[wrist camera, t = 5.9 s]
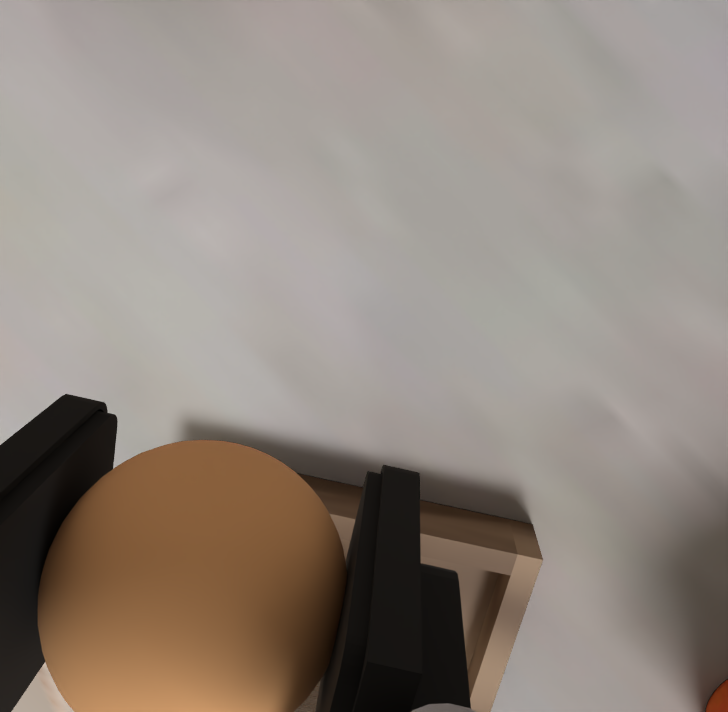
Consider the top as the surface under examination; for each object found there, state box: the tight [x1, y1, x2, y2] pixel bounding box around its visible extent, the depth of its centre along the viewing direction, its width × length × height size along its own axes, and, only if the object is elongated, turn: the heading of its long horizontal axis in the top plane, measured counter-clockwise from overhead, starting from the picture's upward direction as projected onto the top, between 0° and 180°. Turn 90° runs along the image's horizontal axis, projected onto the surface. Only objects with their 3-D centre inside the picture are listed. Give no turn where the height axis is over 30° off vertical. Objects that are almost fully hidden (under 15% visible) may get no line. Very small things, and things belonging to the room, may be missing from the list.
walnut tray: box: [297, 473, 543, 712], centre depth 31 cm, size 18×14×2 cm
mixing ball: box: [37, 440, 347, 712], centre depth 9 cm, size 4×4×4 cm
